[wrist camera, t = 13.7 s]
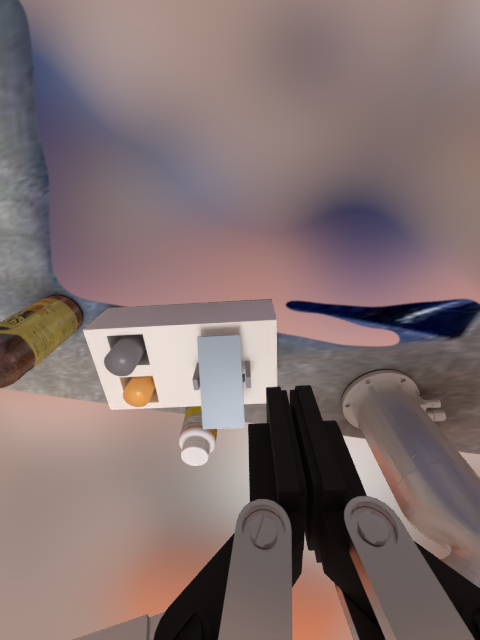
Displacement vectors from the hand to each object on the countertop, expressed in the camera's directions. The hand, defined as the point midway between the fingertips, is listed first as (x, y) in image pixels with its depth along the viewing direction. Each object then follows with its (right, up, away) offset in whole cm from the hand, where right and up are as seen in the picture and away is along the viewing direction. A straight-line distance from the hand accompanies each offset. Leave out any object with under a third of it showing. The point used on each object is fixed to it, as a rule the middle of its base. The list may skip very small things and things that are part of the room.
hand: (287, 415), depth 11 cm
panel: (-9, 0, +32) cm, 33 cm away
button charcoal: (-16, +2, +29) cm, 33 cm away
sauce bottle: (-28, +5, +30) cm, 42 cm away
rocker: (-4, -4, +23) cm, 24 cm away
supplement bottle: (-8, -11, +38) cm, 40 cm away
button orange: (-16, -3, +33) cm, 37 cm away
